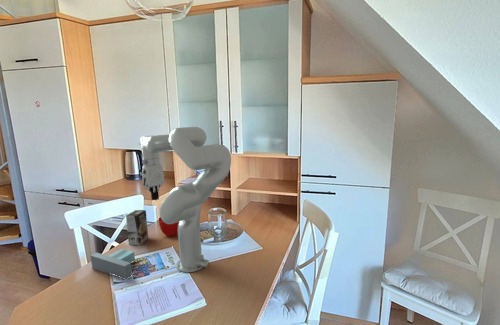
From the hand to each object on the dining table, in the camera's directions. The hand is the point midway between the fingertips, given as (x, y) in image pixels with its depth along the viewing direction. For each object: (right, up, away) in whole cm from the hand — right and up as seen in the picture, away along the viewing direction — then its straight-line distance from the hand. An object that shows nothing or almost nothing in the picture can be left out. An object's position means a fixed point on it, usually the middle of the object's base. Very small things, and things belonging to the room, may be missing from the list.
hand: (155, 199), depth 139 cm
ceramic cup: (+3, -23, +22) cm, 32 cm away
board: (-14, -29, -15) cm, 36 cm away
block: (-13, -29, -9) cm, 32 cm away
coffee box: (-14, -25, +15) cm, 32 cm away
